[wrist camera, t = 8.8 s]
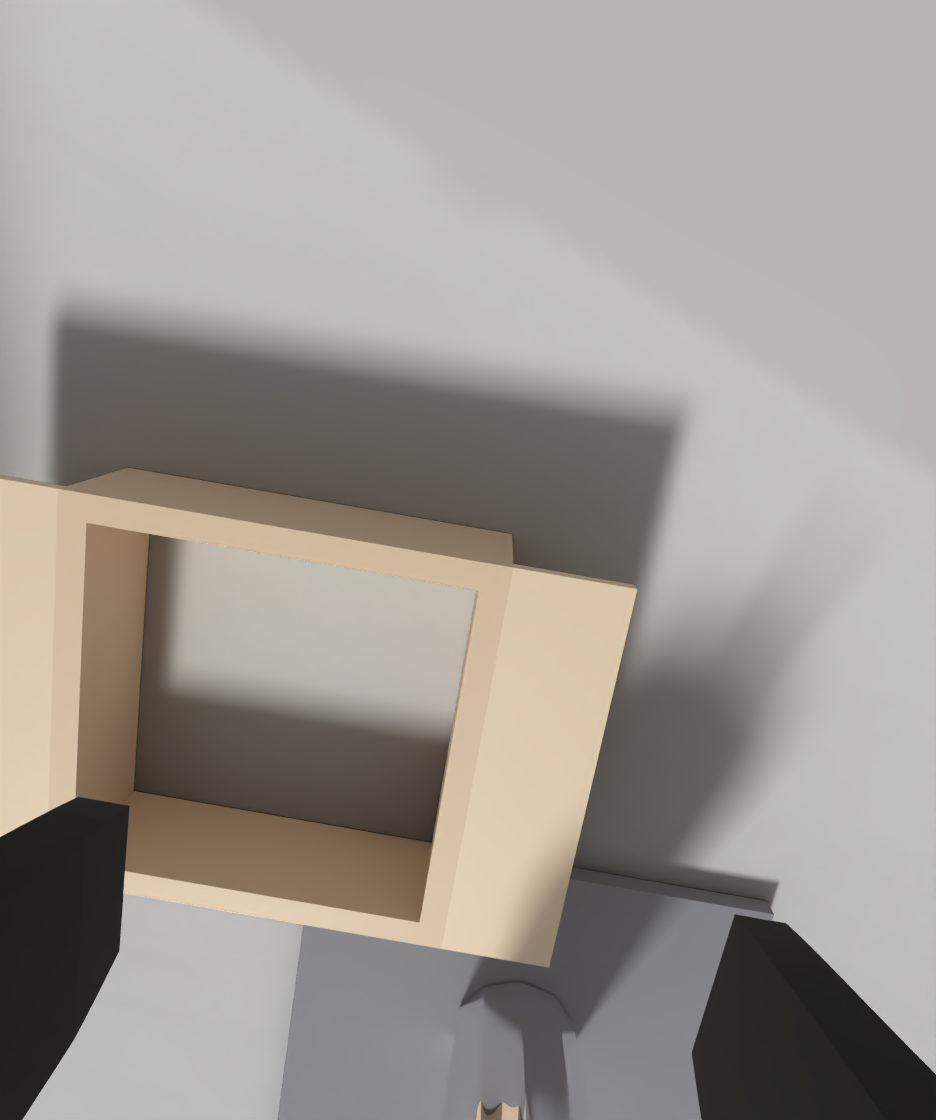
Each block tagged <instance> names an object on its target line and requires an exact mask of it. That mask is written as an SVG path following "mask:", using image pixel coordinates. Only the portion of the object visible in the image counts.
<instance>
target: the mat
mask: <svg viewBox="0 0 936 1120" xmlns="http://www.w3.org/2000/svg"><path fill="white" fill-rule="evenodd" d="M380 838H381V837H380ZM735 914H736V915H742V916H747V917H753V918H759V919H764V920H770V921H772V919H773V915H774V914H773V912H772V910H771V908H770V906H769V903H768V901H763V900H757V899H751V898H745V897H740V896H734V895H728V894H722V893H717V892H711V891H705V890H699V889H694V888H688V887H682V886H676V885H671V884H665V883H659V882H653V881H648V880H642V879H636V878H630V877H625V876H619V875H613V874H607V873H602V872H596V871H590V870H584V869H579V868H573V867H572V871H571V875H570V880H569V884H568V888H567V893H566V897H565V901H564V905H563V910H562V914H561V918H560V923H559V927H558V931H557V935H556V940H555V944H554V948H553V953H552V957H551V961H550V965H549V968H548V967H542V966H537V965H531V964H525V963H520V962H514V961H508V960H502V959H497V958H491V957H485V956H479V955H474V954H468V953H462V952H456V951H451V950H445V949H439V948H434V947H428V946H422V945H416V944H411V943H405V942H399V941H393V940H388V939H382V938H376V937H370V936H365V935H359V934H353V933H348V932H342V931H336V930H330V929H325V928H319V927H313V926H307V925H303V932H302V939H301V947H300V954H299V962H298V969H297V977H296V985H295V992H294V1000H293V1007H292V1015H291V1022H290V1030H289V1037H288V1045H287V1053H286V1060H285V1068H284V1075H283V1083H282V1090H281V1098H280V1106H279V1113H278V1120H441V1118H442V1112H443V1105H444V1099H445V1092H446V1086H447V1080H448V1073H449V1067H450V1061H451V1054H452V1048H453V1041H454V1035H455V1028H456V1022H457V1016H458V1011H459V1008H460V1007H461V1006H462V1005H464V1004H465V1003H466V1002H467V1001H468V1000H469V999H471V998H472V997H473V996H474V995H475V994H476V993H478V992H479V991H480V990H481V989H482V988H483V987H484V986H490V985H498V984H506V983H513V982H520V981H522V982H524V983H526V984H529V985H531V986H534V987H536V988H538V989H541V990H543V991H546V992H548V993H551V994H553V995H555V996H556V997H557V999H558V1001H559V1002H560V1004H561V1005H562V1007H563V1009H564V1010H565V1012H566V1013H567V1015H568V1016H569V1018H570V1019H571V1021H572V1023H573V1025H574V1029H575V1034H576V1039H577V1044H578V1050H579V1055H580V1060H581V1065H582V1071H583V1076H584V1081H585V1086H586V1092H587V1097H588V1102H589V1107H590V1113H591V1118H592V1120H702V1119H701V1113H700V1108H699V1101H698V1094H697V1087H696V1080H695V1073H694V1066H693V1060H692V1049H693V1046H694V1043H695V1040H696V1037H697V1033H698V1030H699V1027H700V1024H701V1021H702V1017H703V1014H704V1011H705V1008H706V1005H707V1001H708V998H709V995H710V992H711V989H712V985H713V982H714V979H715V976H716V973H717V969H718V966H719V963H720V960H721V957H722V953H723V950H724V947H725V944H726V941H727V937H728V934H729V931H730V928H731V925H732V921H733V918H734V915H735Z"/></svg>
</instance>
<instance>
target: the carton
mask: <svg viewBox="0 0 936 1120" xmlns="http://www.w3.org/2000/svg"><path fill="white" fill-rule="evenodd" d="M149 534H153V535H159V536H164V537H170V538H176V539H182V540H188V541H193V542H199V543H205V544H211V545H216V546H222V547H228V548H234V549H239V550H245V551H251V552H257V553H263V554H268V555H274V556H280V557H286V558H291V559H297V560H303V561H309V562H315V563H320V564H326V565H332V566H338V567H343V568H349V569H355V570H361V571H366V572H372V573H378V574H384V575H390V576H395V577H401V578H407V579H413V580H418V581H424V582H430V583H436V584H441V585H447V586H453V587H459V588H465V589H470V590H476V595H475V601H474V607H473V612H472V618H471V623H470V629H469V635H468V640H467V646H466V652H465V657H464V663H463V669H462V674H461V680H460V685H459V691H458V697H457V702H456V708H455V714H454V719H453V725H452V731H451V736H450V742H449V747H448V753H447V759H446V764H445V770H444V776H443V781H442V787H441V793H440V798H439V804H438V810H437V815H436V821H435V826H434V832H433V838H432V843H429V842H424V841H418V840H412V839H406V838H401V837H395V836H389V835H383V834H378V833H372V832H366V831H360V830H355V829H349V828H343V827H338V826H332V825H326V824H320V823H315V822H309V821H303V820H297V819H292V818H286V817H280V816H274V815H269V814H263V813H257V812H251V811H246V810H240V809H234V808H228V807H223V806H217V805H211V804H205V803H200V802H194V801H188V800H182V799H177V798H171V797H165V796H159V795H154V794H148V793H142V792H136V791H134V776H135V759H136V743H137V727H138V710H139V694H140V678H141V662H142V645H143V629H144V613H145V597H146V580H147V564H148V548H149ZM636 593H637V587H636V586H635V585H633V584H627V583H621V582H616V581H610V580H604V579H598V578H593V577H587V576H581V575H575V574H570V573H564V572H558V571H552V570H546V569H541V568H535V567H529V566H523V565H518V564H513V543H512V534H509V533H503V532H497V531H491V530H486V529H480V528H474V527H468V526H462V525H457V524H451V523H445V522H439V521H434V520H428V519H422V518H416V517H410V516H405V515H399V514H393V513H387V512H382V511H376V510H370V509H364V508H358V507H353V506H347V505H341V504H335V503H330V502H324V501H318V500H312V499H306V498H301V497H295V496H289V495H283V494H278V493H272V492H266V491H260V490H254V489H249V488H243V487H237V486H231V485H226V484H220V483H214V482H208V481H202V480H197V479H191V478H185V477H179V476H174V475H168V474H162V473H156V472H150V471H145V470H139V469H133V468H125V469H122V470H119V471H115V472H112V473H109V474H105V475H102V476H99V477H95V478H92V479H89V480H85V481H82V482H79V483H75V484H72V485H69V486H61V485H56V484H50V483H44V482H38V481H33V480H27V479H21V478H15V477H10V476H4V475H0V837H1V836H3V835H5V834H7V833H8V832H10V831H12V830H14V829H16V828H18V827H20V826H22V825H23V824H25V823H27V822H29V821H31V820H33V819H35V818H37V817H39V816H41V815H42V814H44V813H46V812H48V811H50V810H52V809H54V808H56V807H58V806H60V805H62V804H64V803H66V802H68V801H71V800H73V799H75V798H77V797H83V798H88V799H94V800H100V801H105V802H111V803H116V804H122V805H128V806H130V808H129V822H128V835H127V849H126V863H125V877H124V891H123V893H124V894H130V895H135V896H141V897H147V898H153V899H158V900H164V901H170V902H176V903H181V904H187V905H193V906H199V907H204V908H210V909H216V910H221V911H227V912H233V913H239V914H244V915H250V916H256V917H262V918H267V919H273V920H279V921H285V922H290V923H296V924H302V925H307V926H313V927H319V928H325V929H330V930H336V931H342V932H348V933H353V934H359V935H365V936H370V937H376V938H382V939H388V940H393V941H399V942H405V943H411V944H416V945H422V946H428V947H434V948H439V949H445V950H451V951H456V952H462V953H468V954H474V955H479V956H485V957H491V958H497V959H502V960H508V961H514V962H520V963H525V964H531V965H537V966H542V967H548V968H549V965H550V961H551V957H552V953H553V948H554V944H555V940H556V935H557V931H558V927H559V923H560V918H561V914H562V910H563V905H564V901H565V897H566V893H567V888H568V884H569V880H570V875H571V871H572V867H573V863H574V858H575V854H576V850H577V846H578V841H579V837H580V833H581V828H582V824H583V820H584V816H585V811H586V807H587V803H588V798H589V794H590V790H591V786H592V781H593V777H594V773H595V769H596V764H597V760H598V756H599V751H600V747H601V743H602V739H603V734H604V730H605V726H606V721H607V717H608V713H609V709H610V704H611V700H612V696H613V692H614V687H615V683H616V679H617V674H618V670H619V666H620V662H621V657H622V653H623V649H624V644H625V640H626V636H627V632H628V627H629V623H630V619H631V614H632V610H633V606H634V602H635V597H636ZM380 837H381V838H380Z"/></svg>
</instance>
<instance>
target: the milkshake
mask: <svg viewBox="0 0 936 1120" xmlns="http://www.w3.org/2000/svg"><path fill="white" fill-rule="evenodd" d="M441 1120H592V1118H591V1113H590V1107H589V1102H588V1097H587V1092H586V1086H585V1081H584V1076H583V1071H582V1065H581V1060H580V1055H579V1050H578V1044H577V1039H576V1034H575V1029H574V1025H573V1023H572V1021H571V1019H570V1018H569V1016H568V1015H567V1013H566V1012H565V1010H564V1009H563V1007H562V1005H561V1004H560V1002H559V1001H558V999H557V997H556V996H555V995H553V994H551V993H548V992H546V991H543V990H541V989H538V988H536V987H534V986H531V985H529V984H526V983H524V982H522V981H520V982H513V983H506V984H498V985H490V986H484V987H483V988H482V989H481V990H480V991H479V992H478V993H476V994H475V995H474V996H473V997H472V998H471V999H469V1000H468V1001H467V1002H466V1003H465V1004H464V1005H462V1006H461V1007H460V1008H459V1011H458V1016H457V1022H456V1028H455V1035H454V1041H453V1048H452V1054H451V1061H450V1067H449V1073H448V1080H447V1086H446V1092H445V1099H444V1105H443V1112H442V1118H441Z"/></svg>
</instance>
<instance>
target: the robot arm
mask: <svg viewBox="0 0 936 1120" xmlns="http://www.w3.org/2000/svg"><path fill="white" fill-rule="evenodd" d="M129 808H130V806H128V805H122V804H116V803H111V802H105V801H100V800H94V799H88V798H83V797H77V798H75V799H73V800H71V801H68V802H66V803H64V804H62V805H60V806H58V807H56V808H54V809H52V810H50V811H48V812H46V813H44V814H42V815H41V816H39V817H37V818H35V819H33V820H31V821H29V822H27V823H25V824H23V825H22V826H20V827H18V828H16V829H14V830H12V831H10V832H8V833H7V834H5V835H3V836H1V837H0V1120H22V1119H23V1118H24V1116H25V1115H26V1113H27V1111H28V1110H29V1108H30V1107H31V1105H32V1104H33V1102H34V1101H35V1099H36V1098H37V1096H38V1095H39V1093H40V1091H41V1090H42V1088H43V1087H44V1085H45V1084H46V1082H47V1081H48V1079H49V1078H50V1076H51V1075H52V1073H53V1071H54V1070H55V1068H56V1067H57V1065H58V1064H59V1062H60V1061H61V1059H62V1057H63V1056H64V1054H65V1053H66V1051H67V1050H68V1048H69V1046H70V1045H71V1043H72V1042H73V1040H74V1039H75V1037H76V1035H77V1033H78V1031H79V1029H80V1027H81V1025H82V1023H83V1021H84V1019H85V1018H86V1016H87V1014H88V1012H89V1010H90V1008H91V1006H92V1004H93V1002H94V1000H95V998H96V996H97V994H98V992H99V990H100V988H101V986H102V984H103V982H104V980H105V978H106V976H107V974H108V972H109V970H110V968H111V966H112V964H113V962H114V960H115V958H116V956H117V954H118V952H119V946H120V933H121V919H122V905H123V891H124V877H125V863H126V849H127V835H128V822H129ZM692 1060H693V1066H694V1073H695V1080H696V1087H697V1094H698V1101H699V1108H700V1113H701V1119H702V1120H936V1074H935V1073H934V1072H933V1071H932V1070H931V1069H930V1068H929V1067H928V1066H927V1065H926V1064H925V1063H924V1062H923V1061H922V1060H921V1059H920V1058H919V1057H918V1056H917V1055H916V1054H915V1053H914V1052H913V1051H912V1050H911V1049H910V1048H909V1047H908V1046H907V1045H906V1044H905V1043H904V1042H903V1041H902V1040H901V1039H900V1038H899V1037H898V1036H897V1035H896V1034H895V1033H894V1032H893V1031H892V1030H891V1029H890V1028H889V1027H888V1025H887V1024H886V1023H885V1022H884V1021H883V1020H882V1019H881V1018H880V1017H879V1016H878V1015H877V1014H876V1013H875V1012H874V1011H873V1010H872V1009H871V1008H870V1007H869V1006H868V1005H867V1004H866V1003H865V1002H864V1001H863V1000H862V999H861V998H860V997H859V996H858V995H857V994H856V992H855V991H854V990H853V989H852V988H851V987H850V986H849V985H848V984H847V983H846V982H845V981H844V980H843V979H842V978H841V977H840V976H839V975H838V974H837V973H836V972H835V971H834V970H833V969H832V968H831V967H830V966H829V965H828V964H827V963H826V962H825V961H824V960H823V959H822V958H821V957H820V956H819V955H818V954H817V953H816V952H815V951H814V950H813V949H812V948H811V947H810V946H809V945H808V944H807V943H806V942H805V941H804V940H803V939H802V938H801V937H800V936H799V935H798V934H797V933H796V932H795V931H794V930H793V929H792V928H790V927H789V926H788V925H787V924H786V923H781V922H775V921H770V920H764V919H759V918H753V917H747V916H742V915H736V914H735V915H734V918H733V921H732V925H731V928H730V931H729V934H728V937H727V941H726V944H725V947H724V950H723V953H722V957H721V960H720V963H719V966H718V969H717V973H716V976H715V979H714V982H713V985H712V989H711V992H710V995H709V998H708V1001H707V1005H706V1008H705V1011H704V1014H703V1017H702V1021H701V1024H700V1027H699V1030H698V1033H697V1037H696V1040H695V1043H694V1046H693V1049H692Z"/></svg>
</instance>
